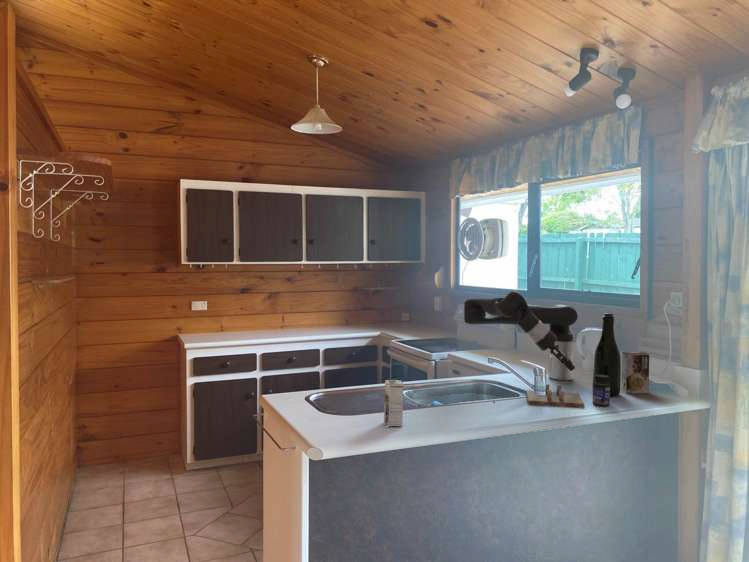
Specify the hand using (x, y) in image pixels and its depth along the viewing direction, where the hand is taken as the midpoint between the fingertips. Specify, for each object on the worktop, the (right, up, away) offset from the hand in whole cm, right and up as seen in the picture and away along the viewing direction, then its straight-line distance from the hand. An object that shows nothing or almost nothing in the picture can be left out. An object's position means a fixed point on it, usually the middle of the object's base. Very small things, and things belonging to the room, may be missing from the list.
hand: (571, 367), depth 224 cm
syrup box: (-68, -15, -28) cm, 75 cm away
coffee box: (+33, -13, +20) cm, 40 cm away
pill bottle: (+11, -14, -1) cm, 18 cm away
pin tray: (-5, -14, +5) cm, 15 cm away
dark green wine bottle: (+19, -13, +15) cm, 28 cm away
